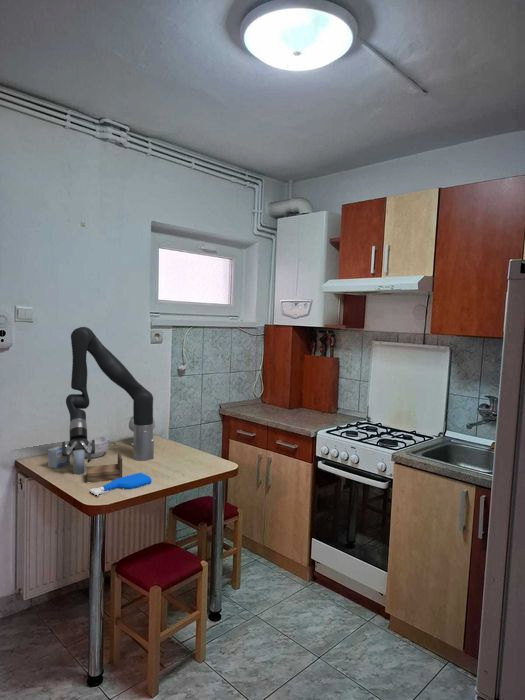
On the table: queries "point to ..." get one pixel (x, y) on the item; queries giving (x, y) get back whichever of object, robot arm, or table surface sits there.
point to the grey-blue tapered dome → (78, 461)
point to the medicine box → (56, 457)
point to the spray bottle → (124, 483)
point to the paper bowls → (98, 446)
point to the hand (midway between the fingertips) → (78, 462)
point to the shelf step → (105, 471)
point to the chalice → (131, 426)
